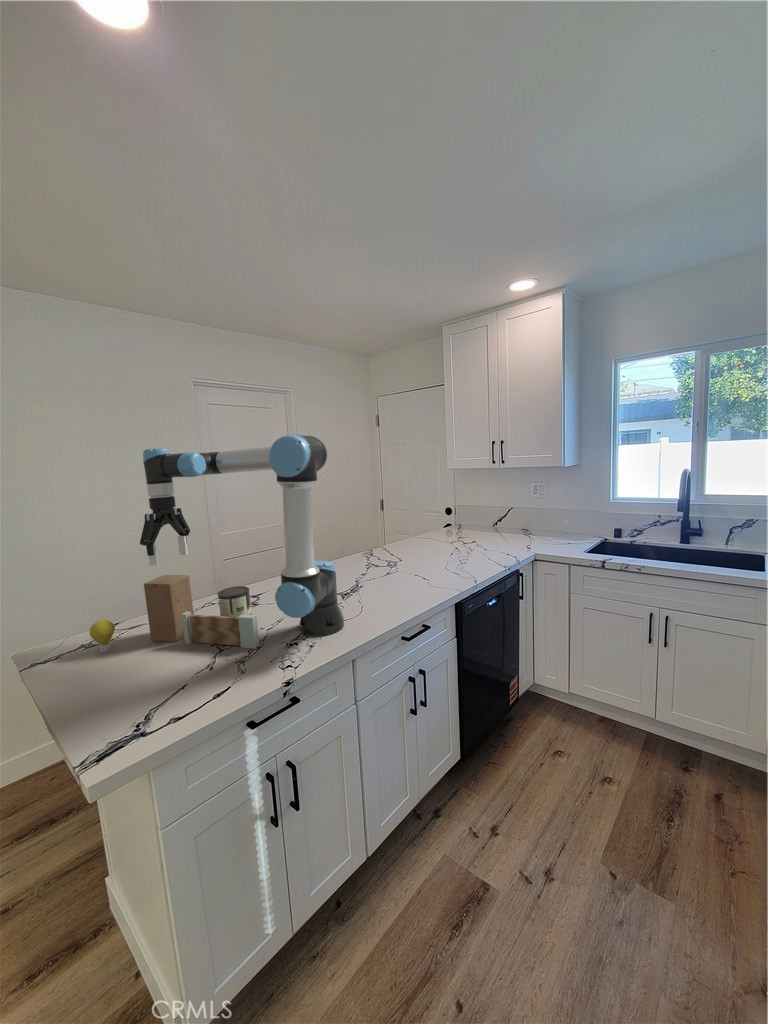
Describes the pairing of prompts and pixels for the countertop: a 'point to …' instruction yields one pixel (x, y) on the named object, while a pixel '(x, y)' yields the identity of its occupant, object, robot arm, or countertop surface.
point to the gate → (215, 629)
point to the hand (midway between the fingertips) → (169, 559)
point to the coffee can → (234, 601)
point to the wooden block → (168, 606)
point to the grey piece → (246, 630)
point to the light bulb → (102, 633)
